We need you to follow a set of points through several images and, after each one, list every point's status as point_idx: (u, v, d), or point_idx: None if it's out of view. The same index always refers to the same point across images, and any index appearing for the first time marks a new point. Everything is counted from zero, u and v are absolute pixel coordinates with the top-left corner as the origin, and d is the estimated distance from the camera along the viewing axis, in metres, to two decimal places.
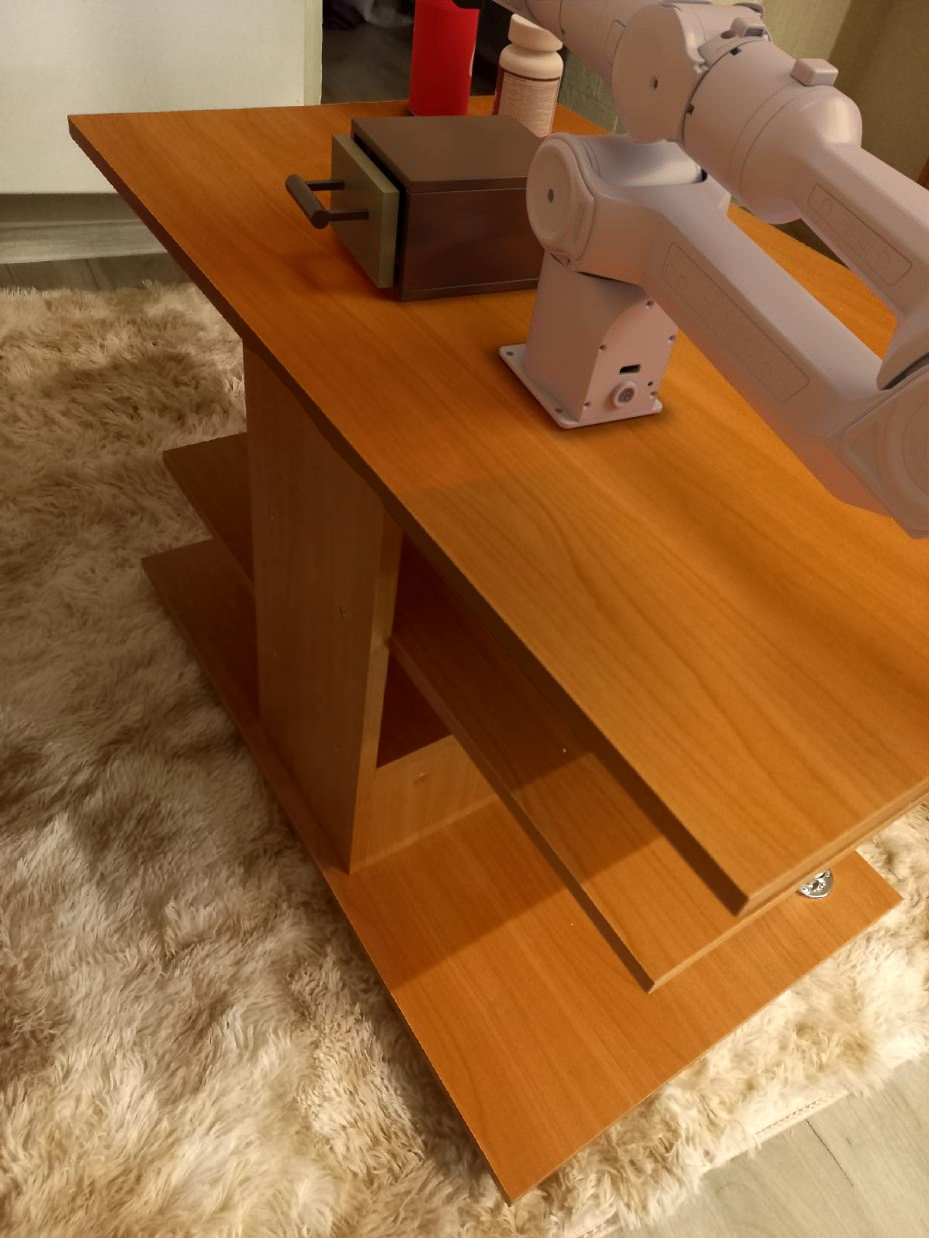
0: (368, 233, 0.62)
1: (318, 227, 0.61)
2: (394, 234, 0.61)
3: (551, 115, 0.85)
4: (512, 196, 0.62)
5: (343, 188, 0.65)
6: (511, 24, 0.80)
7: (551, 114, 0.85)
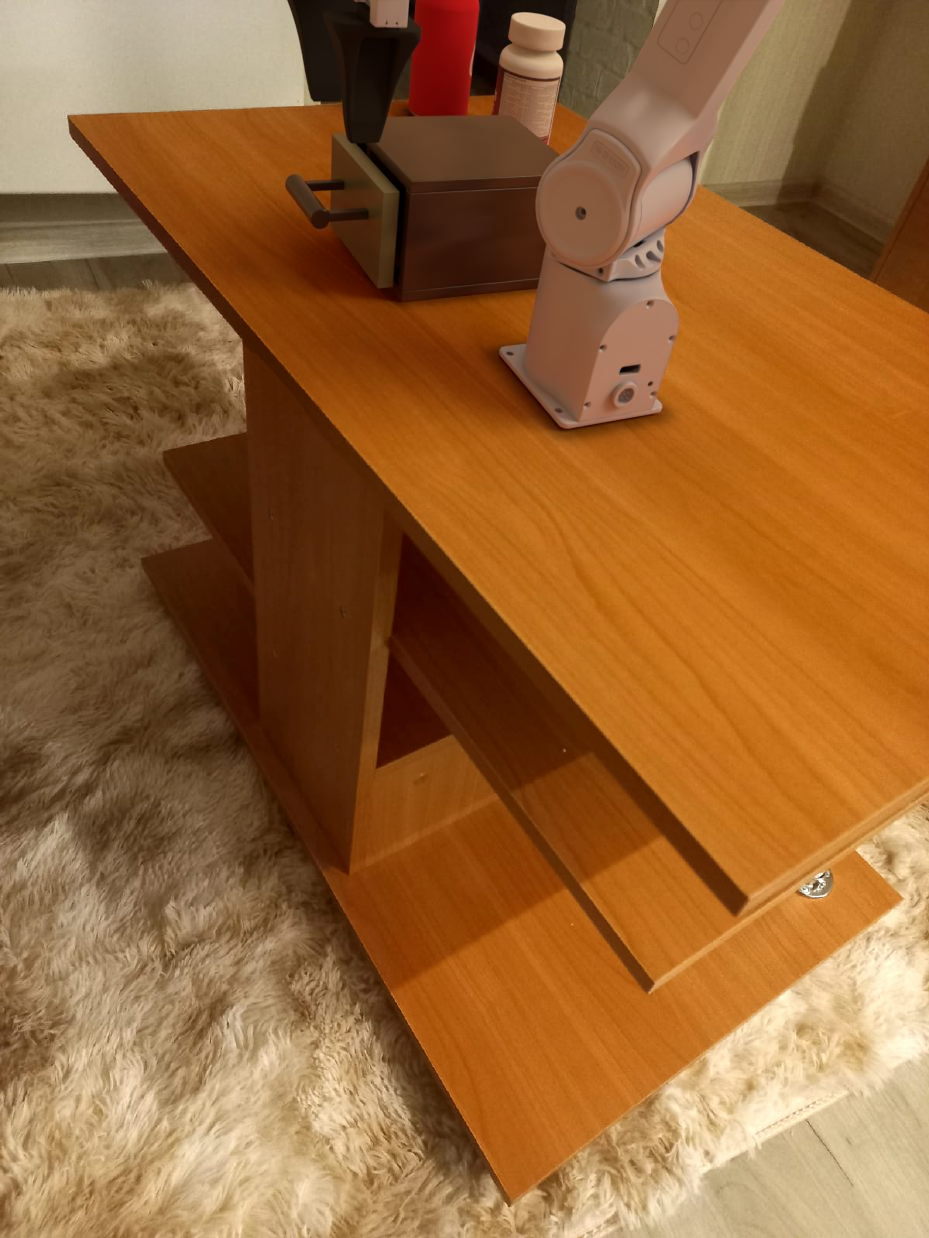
0: (368, 233, 0.62)
1: (318, 227, 0.61)
2: (394, 234, 0.61)
3: (551, 115, 0.85)
4: (512, 196, 0.62)
5: (343, 188, 0.65)
6: (511, 24, 0.80)
7: (551, 114, 0.85)
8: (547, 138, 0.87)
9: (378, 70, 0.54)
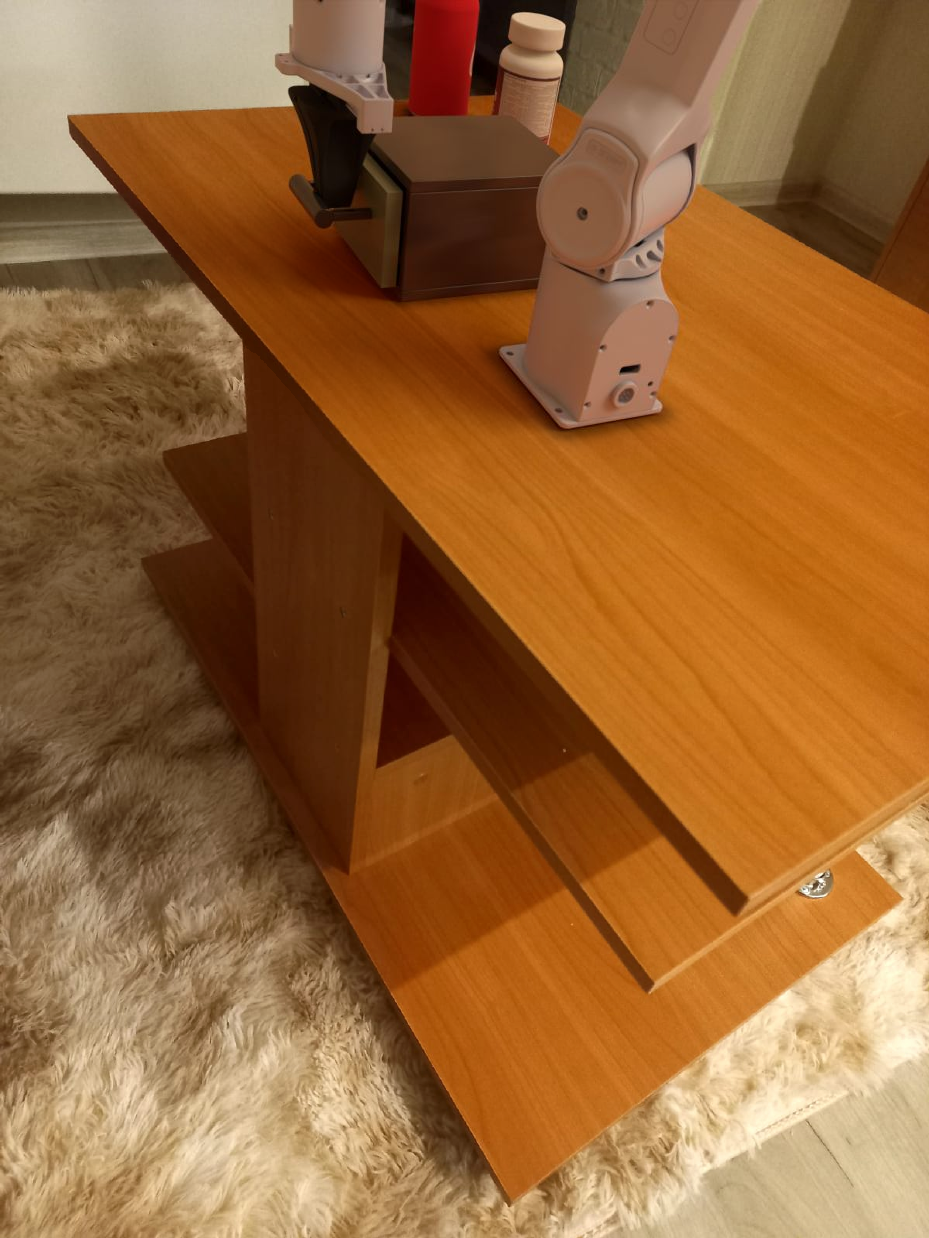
0: (372, 233, 0.63)
1: (322, 227, 0.61)
2: (397, 234, 0.61)
3: (551, 115, 0.85)
4: (512, 196, 0.62)
5: None
6: (511, 24, 0.80)
7: (551, 114, 0.85)
8: (547, 138, 0.87)
9: (348, 145, 0.60)
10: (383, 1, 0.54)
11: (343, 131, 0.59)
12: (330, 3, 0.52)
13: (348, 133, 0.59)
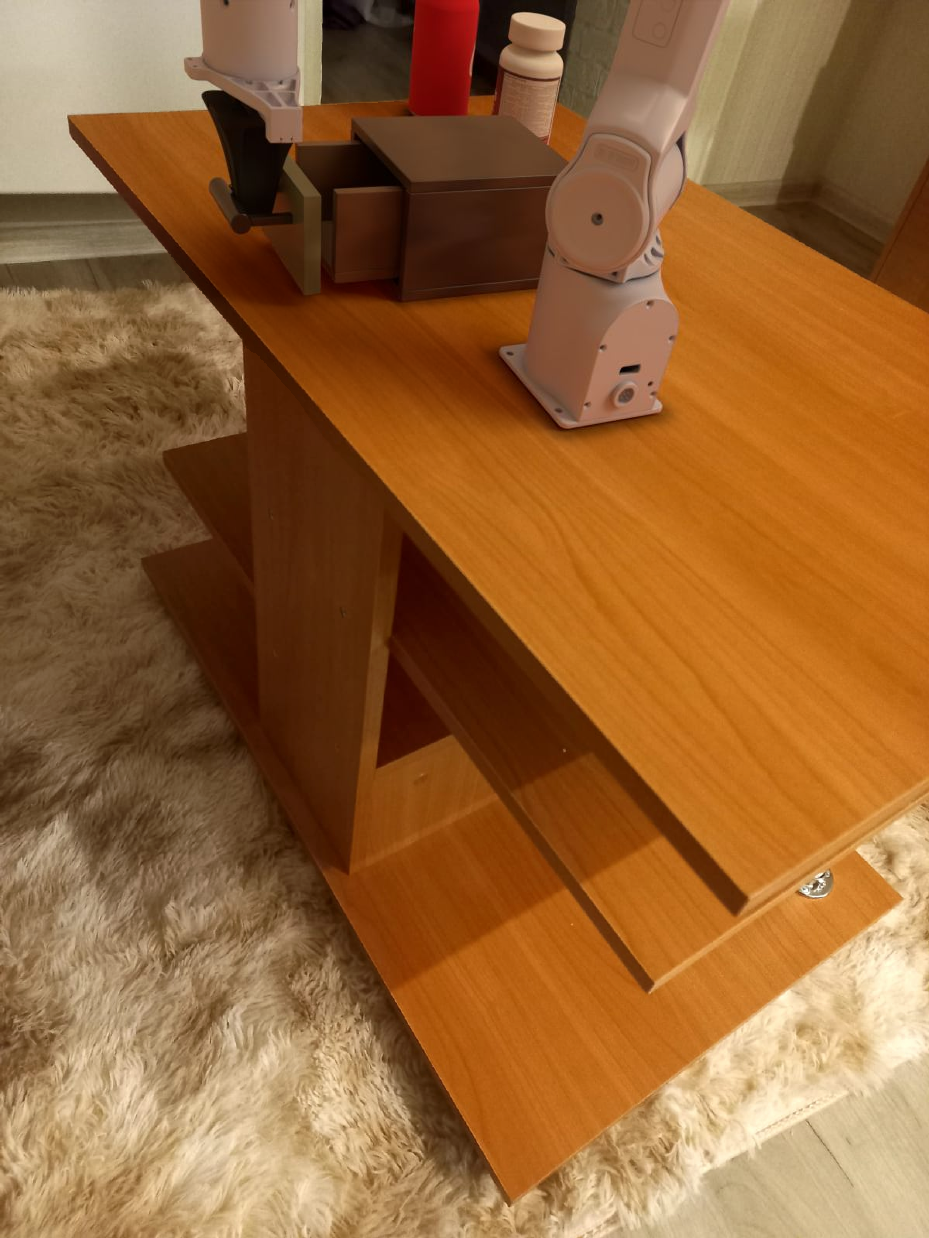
0: (293, 238, 0.60)
1: (239, 232, 0.58)
2: (318, 239, 0.59)
3: (551, 115, 0.85)
4: (512, 196, 0.62)
5: None
6: (511, 24, 0.80)
7: (551, 114, 0.85)
8: (547, 138, 0.87)
9: (265, 153, 0.58)
10: (294, 6, 0.52)
11: (259, 138, 0.57)
12: (236, 7, 0.50)
13: (265, 140, 0.57)
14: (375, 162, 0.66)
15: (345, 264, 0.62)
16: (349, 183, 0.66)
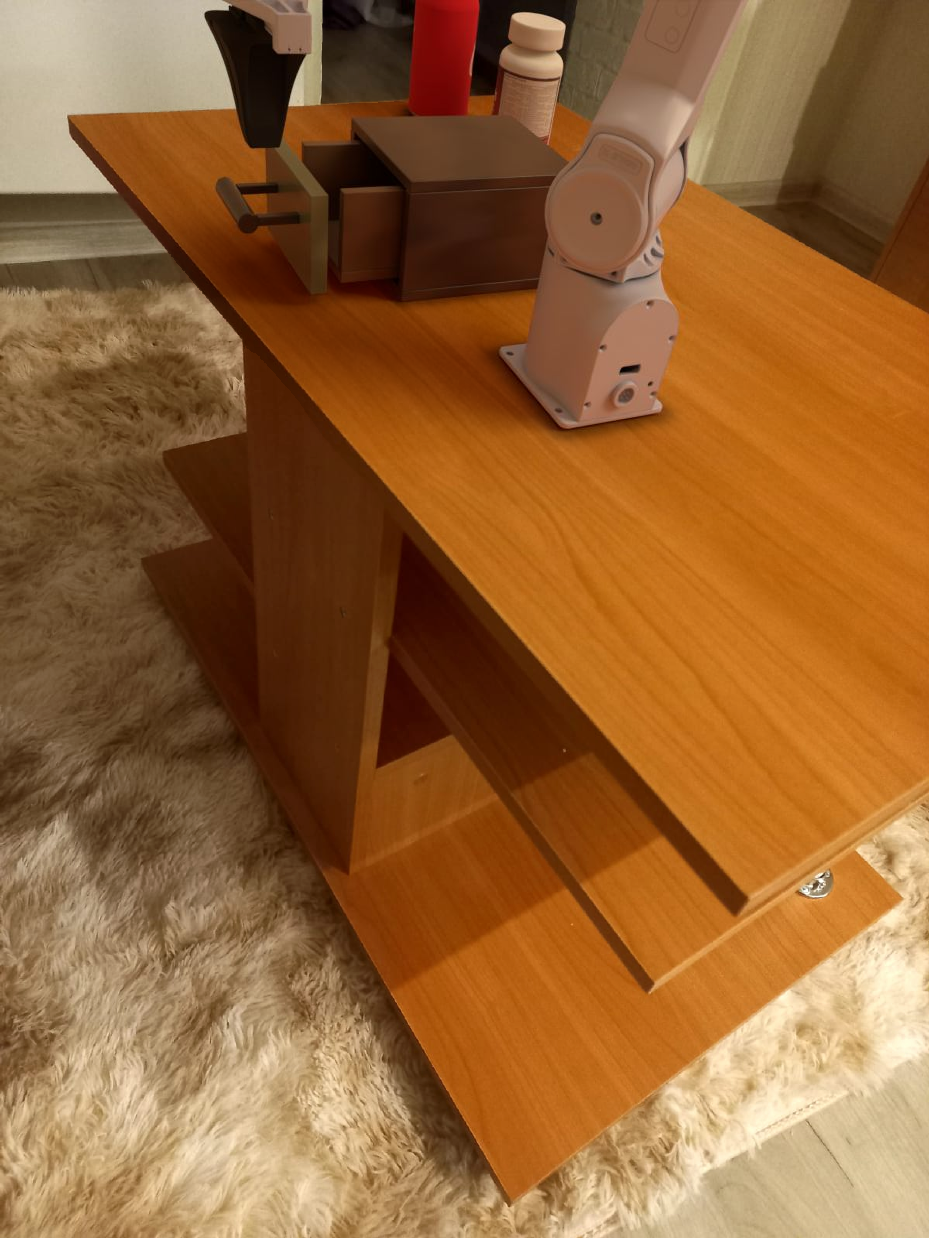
0: (300, 238, 0.61)
1: (246, 232, 0.59)
2: (325, 239, 0.59)
3: (551, 115, 0.85)
4: (512, 196, 0.62)
5: (277, 191, 0.63)
6: (511, 24, 0.80)
7: (551, 114, 0.85)
8: (547, 138, 0.87)
9: (272, 76, 0.55)
10: None
11: (266, 60, 0.54)
12: None
13: (272, 62, 0.54)
14: (381, 162, 0.66)
15: (351, 263, 0.62)
16: (355, 183, 0.66)
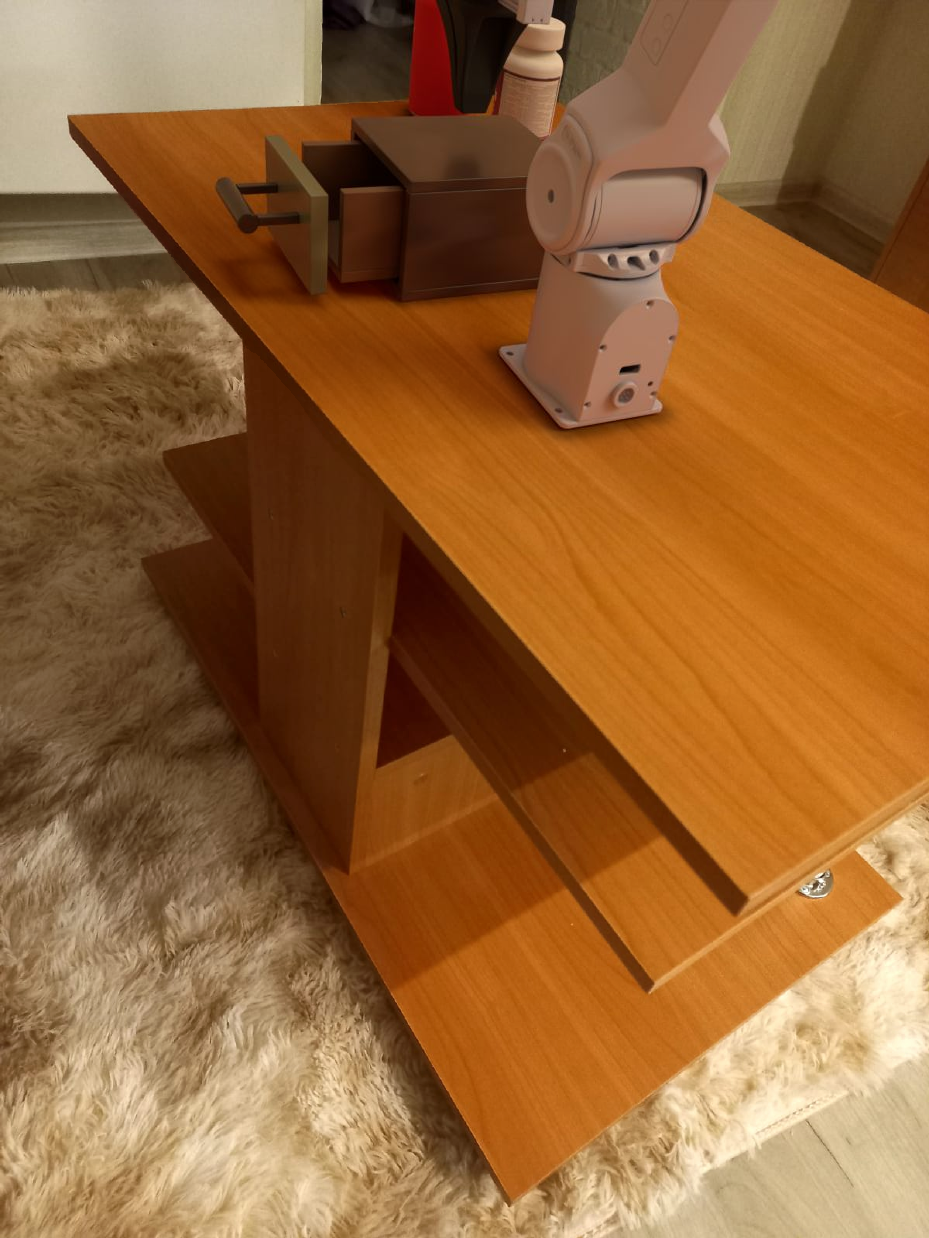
0: (300, 238, 0.61)
1: (246, 232, 0.59)
2: (325, 239, 0.59)
3: (551, 115, 0.85)
4: (512, 196, 0.62)
5: (277, 191, 0.63)
6: None
7: (551, 114, 0.85)
8: None
9: (491, 47, 0.60)
10: None
11: (488, 32, 0.60)
12: None
13: (492, 34, 0.60)
14: (381, 162, 0.66)
15: (351, 263, 0.62)
16: (355, 183, 0.66)
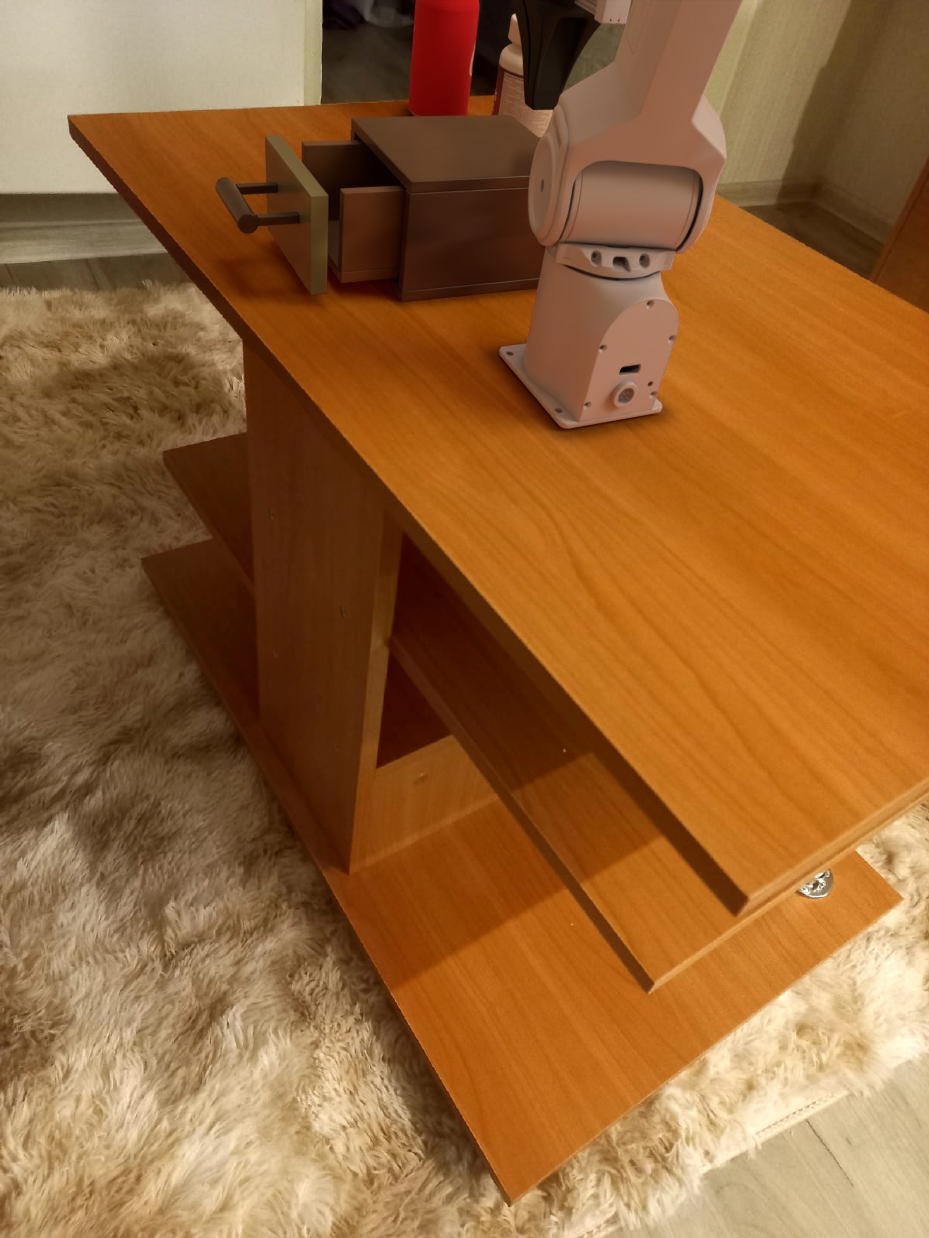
0: (300, 238, 0.61)
1: (246, 232, 0.59)
2: (325, 239, 0.59)
3: (551, 115, 0.85)
4: (512, 196, 0.62)
5: (277, 191, 0.63)
6: (511, 24, 0.80)
7: (551, 114, 0.85)
8: None
9: (563, 46, 0.63)
10: None
11: (561, 31, 0.62)
12: None
13: (565, 34, 0.63)
14: (381, 162, 0.66)
15: (351, 263, 0.62)
16: (355, 183, 0.66)
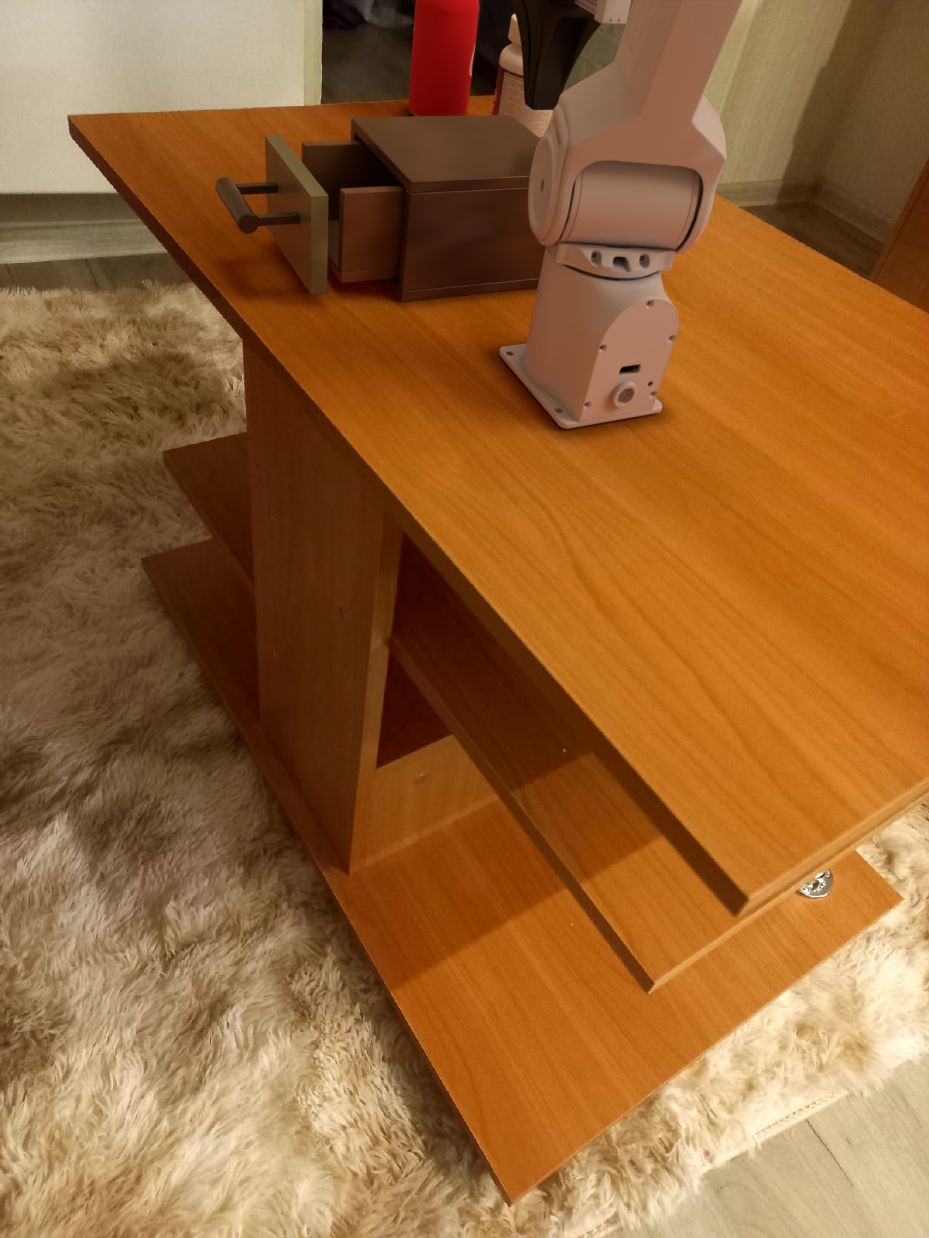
0: (300, 238, 0.61)
1: (246, 232, 0.59)
2: (325, 239, 0.59)
3: (551, 115, 0.85)
4: (512, 196, 0.62)
5: (277, 191, 0.63)
6: (511, 24, 0.80)
7: (551, 114, 0.85)
8: None
9: (563, 46, 0.63)
10: None
11: (561, 31, 0.62)
12: None
13: (565, 34, 0.63)
14: (381, 162, 0.66)
15: (351, 263, 0.62)
16: (355, 183, 0.66)
